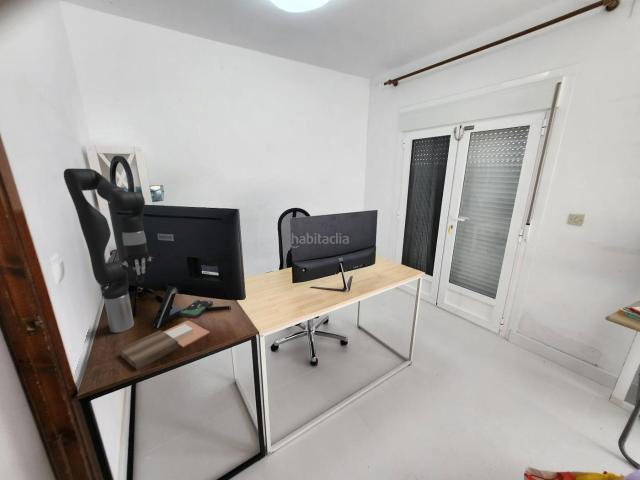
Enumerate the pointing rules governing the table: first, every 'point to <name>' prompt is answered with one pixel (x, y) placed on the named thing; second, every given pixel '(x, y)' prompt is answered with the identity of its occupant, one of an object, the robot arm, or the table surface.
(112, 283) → the robot arm
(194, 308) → the disk drive
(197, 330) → the mat
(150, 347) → the deck
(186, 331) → the tile
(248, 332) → the table surface
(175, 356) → the table surface
